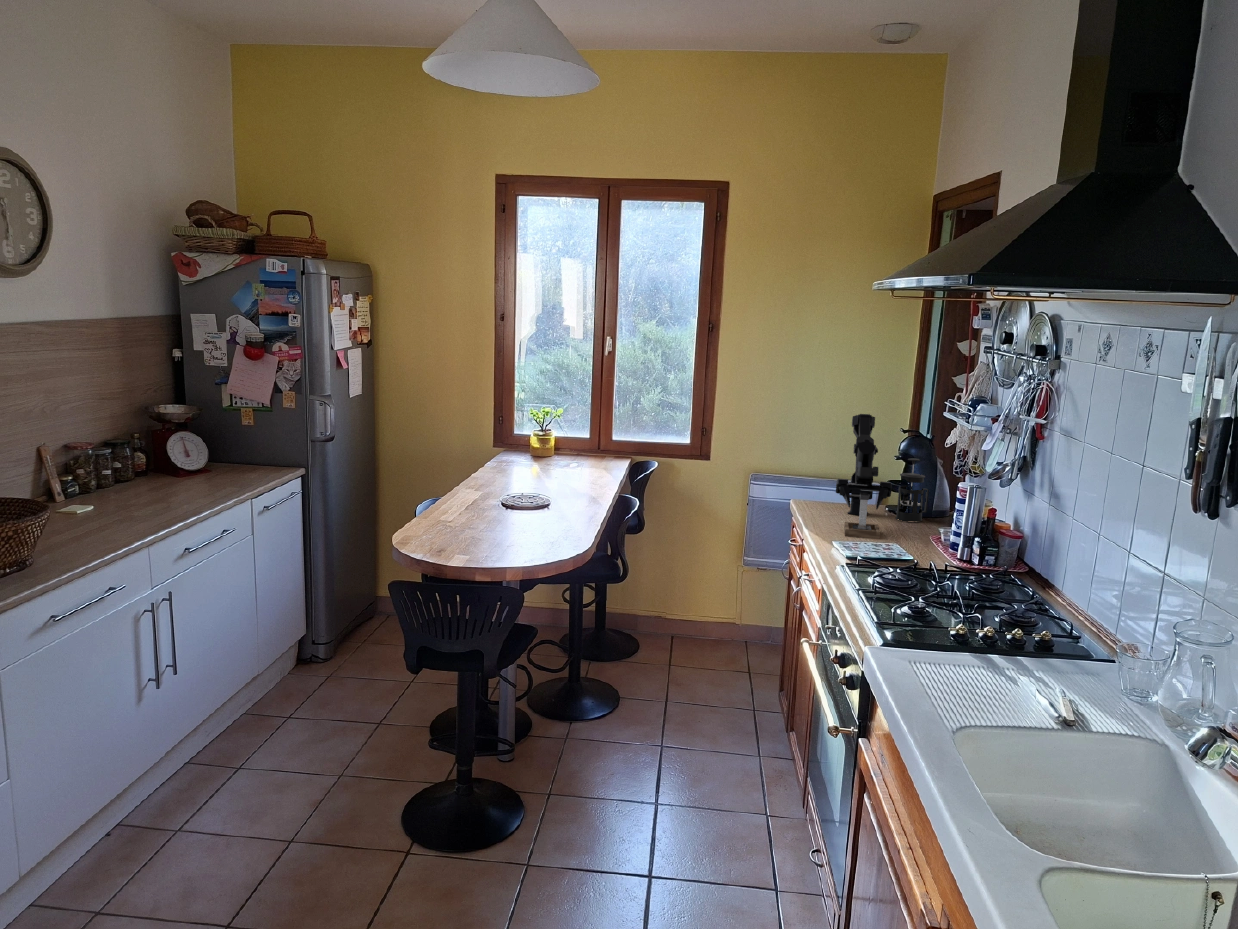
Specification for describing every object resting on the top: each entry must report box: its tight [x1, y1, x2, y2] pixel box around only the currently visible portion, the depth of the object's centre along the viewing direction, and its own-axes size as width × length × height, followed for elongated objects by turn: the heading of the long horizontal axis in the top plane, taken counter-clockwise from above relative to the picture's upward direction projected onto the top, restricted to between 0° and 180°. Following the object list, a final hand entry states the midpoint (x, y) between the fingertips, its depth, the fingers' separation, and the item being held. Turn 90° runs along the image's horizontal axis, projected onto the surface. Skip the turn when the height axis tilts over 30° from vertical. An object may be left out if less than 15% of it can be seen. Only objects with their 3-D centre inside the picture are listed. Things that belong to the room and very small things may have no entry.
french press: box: [895, 457, 930, 522], centre depth 322 cm, size 12×9×23 cm
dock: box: [843, 521, 881, 540], centre depth 299 cm, size 11×11×2 cm
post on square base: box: [852, 493, 871, 530], centre depth 298 cm, size 6×6×13 cm
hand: (863, 507), depth 300 cm, fingers open, 9 cm apart
